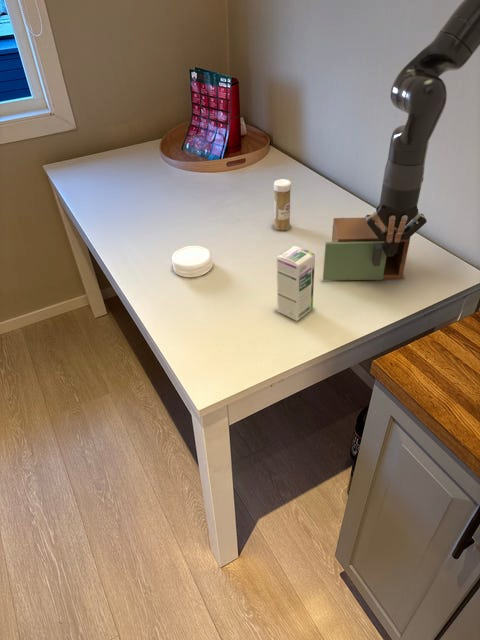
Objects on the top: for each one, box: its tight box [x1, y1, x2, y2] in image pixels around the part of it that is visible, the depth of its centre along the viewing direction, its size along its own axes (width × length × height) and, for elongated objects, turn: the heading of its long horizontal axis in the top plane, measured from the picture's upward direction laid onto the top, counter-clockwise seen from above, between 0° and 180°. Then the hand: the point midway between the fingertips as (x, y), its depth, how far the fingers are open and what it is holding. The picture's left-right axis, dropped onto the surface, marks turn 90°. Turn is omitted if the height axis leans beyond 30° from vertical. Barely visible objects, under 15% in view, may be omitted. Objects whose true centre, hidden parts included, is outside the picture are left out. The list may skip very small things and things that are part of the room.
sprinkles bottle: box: [273, 178, 292, 231], centre depth 133 cm, size 5×5×14 cm
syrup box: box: [276, 245, 316, 322], centre depth 103 cm, size 6×6×14 cm
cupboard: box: [331, 217, 411, 279], centre depth 116 cm, size 16×10×11 cm, turn 87°
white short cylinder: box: [171, 245, 213, 278], centre depth 122 cm, size 10×10×4 cm
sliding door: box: [322, 241, 387, 281], centre depth 111 cm, size 14×3×10 cm, turn 87°
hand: (389, 254), depth 109 cm, fingers closed
